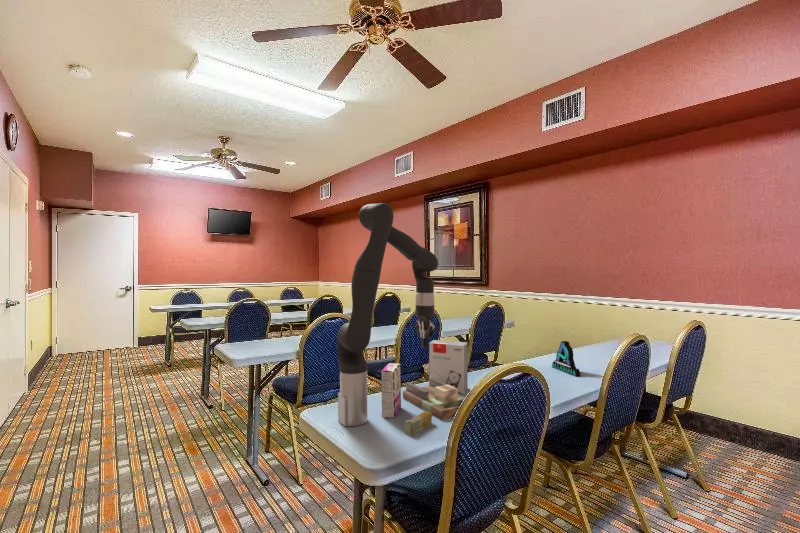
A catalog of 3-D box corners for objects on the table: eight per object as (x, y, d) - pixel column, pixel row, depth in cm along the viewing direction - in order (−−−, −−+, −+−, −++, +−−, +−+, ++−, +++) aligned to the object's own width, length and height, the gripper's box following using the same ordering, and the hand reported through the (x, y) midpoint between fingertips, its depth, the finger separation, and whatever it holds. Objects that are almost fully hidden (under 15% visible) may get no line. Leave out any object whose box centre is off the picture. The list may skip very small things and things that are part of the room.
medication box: (411, 436, 124) (411, 423, 124) (404, 433, 126) (404, 421, 126) (432, 424, 134) (432, 412, 134) (425, 422, 135) (425, 410, 135)
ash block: (444, 403, 144) (444, 391, 144) (434, 399, 149) (434, 387, 149) (457, 400, 147) (457, 388, 147) (447, 396, 152) (447, 384, 152)
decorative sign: (551, 367, 206) (551, 338, 206) (555, 367, 207) (555, 338, 207) (576, 377, 188) (575, 345, 188) (580, 376, 188) (580, 345, 188)
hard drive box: (428, 389, 171) (427, 342, 171) (433, 384, 178) (433, 339, 178) (464, 393, 165) (463, 345, 165) (468, 388, 172) (468, 341, 172)
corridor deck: (440, 420, 136) (440, 402, 136) (402, 398, 159) (402, 383, 159) (477, 411, 144) (477, 394, 144) (436, 392, 167) (436, 377, 167)
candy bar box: (388, 406, 150) (387, 362, 150) (401, 407, 149) (401, 363, 149) (380, 417, 139) (380, 370, 139) (395, 418, 138) (394, 371, 138)
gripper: (408, 303, 163) (408, 345, 163) (426, 305, 152) (426, 351, 152) (423, 302, 167) (423, 343, 167) (442, 304, 156) (442, 349, 156)
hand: (424, 347), depth 159 cm, fingers closed
